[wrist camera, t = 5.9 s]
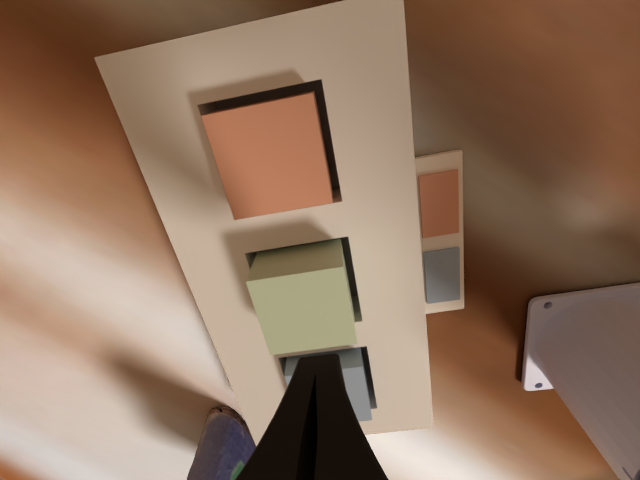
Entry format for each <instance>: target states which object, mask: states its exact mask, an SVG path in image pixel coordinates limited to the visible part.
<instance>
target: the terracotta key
mask: <svg viewBox="0 0 640 480" xmlns="http://www.w3.org/2000/svg"><path fill="white" fill-rule="evenodd" d="M201 117H202V121H203V124H204V127H205V130H206V133H207V136H208V139H209V142H210V146H211V149H212V152H213V155H214V158H215V161H216V164H217V167H218V171H219V174H220V177H221V180H222V183H223V186H224V189H225V193H226V196H227V199H228V202H229V205H230V208H231V211H232V214H233V218H234V220H236V219H242V218H248V217H254V216H259V215H265V214H271V213H277V212H282V211H288V210H294V209H300V208H306V207H311V206H317V205H323V204H329V203H333V199H332V183H331V177H330V171H329V166H328V160H327V155H326V149H325V144H324V138H323V132H322V127H321V121H320V116H319V110H318V105H317V99H316V93H315V90H313V91H308V92H303V93H298V94H293V95H289V96H284V97H279V98H274V99H269V100H264V101H259V102H254V103H250V104H245V105H240V106H235V107H230V108H225V109H221V110H218V111H215V112H212V113H209V114H206V115H203V116H201Z"/></svg>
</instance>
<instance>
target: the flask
mask: <svg viewBox="0 0 640 480" xmlns="http://www.w3.org/2000/svg"><path fill="white" fill-rule="evenodd" d="M218 409H221V410H222V411H223V412H220V410H218ZM255 448H256V445H255V442H254V440H253V438H252V435H251V433H250V430H249V428H248V426H247V424H246V422H244V420H243V418H242V417H241V416H240V415H239V414H237V413H236V412H235V411H234V410H232V409H231V408H230V407H225V406H224V407H223V406H221V407H219V408H215V409H212V410H211V412H210V413H209V415H208V417H207V420H206V424H205V427H204V429H203V431H202V436H201V439H200V442H199V445H198V448H197V451H196V454H195V457H194V461H193V464H192V466H191V469H190V471H189V474H188V477H187V480H235V479H236V477H237V476H238V474H239V473H240V472H241V470H242V469H243V467H244V465H245V464H246V462H247V461H248V459H249V458H250V456H251V455H252V453H253V451H254V450H255Z"/></svg>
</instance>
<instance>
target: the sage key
mask: <svg viewBox="0 0 640 480" xmlns="http://www.w3.org/2000/svg"><path fill="white" fill-rule="evenodd" d="M246 284H247V287H248V290H249V293H250V296H251V299H252V302H253V305H254V308H255V311H256V314H257V317H258V320H259V323H260V326H261V330H262V333H263V336H264V339H265V342H266V345H267V348H268V351H269V354H270V355H276V354H284V353H291V352H299V351H306V350H314V349H321V348H329V347H336V346H344V345H351V344H357V335H356V327H355V318H354V310H353V304H352V298H351V293H350V287H349V281H348V276H347V270H346V265H345V259H344V254H343V248H342V243H341V239H337V240H331V241H324V242H318V243H312V244H306V245H300V246H294V247H288V248H281V249H275V250H269V251H263V252H257V254H256V256H255V259H254V262H253V264H252V267H251V269H250V272H249V274H248V277H247V280H246Z"/></svg>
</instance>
